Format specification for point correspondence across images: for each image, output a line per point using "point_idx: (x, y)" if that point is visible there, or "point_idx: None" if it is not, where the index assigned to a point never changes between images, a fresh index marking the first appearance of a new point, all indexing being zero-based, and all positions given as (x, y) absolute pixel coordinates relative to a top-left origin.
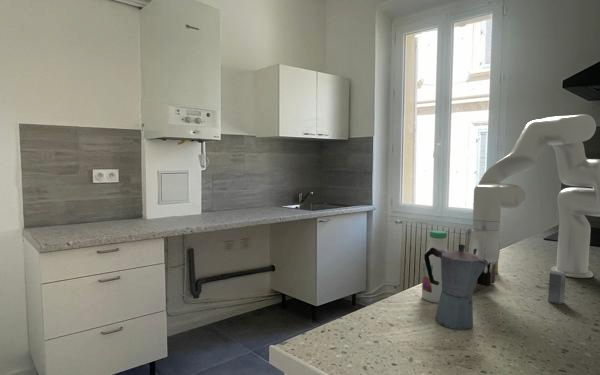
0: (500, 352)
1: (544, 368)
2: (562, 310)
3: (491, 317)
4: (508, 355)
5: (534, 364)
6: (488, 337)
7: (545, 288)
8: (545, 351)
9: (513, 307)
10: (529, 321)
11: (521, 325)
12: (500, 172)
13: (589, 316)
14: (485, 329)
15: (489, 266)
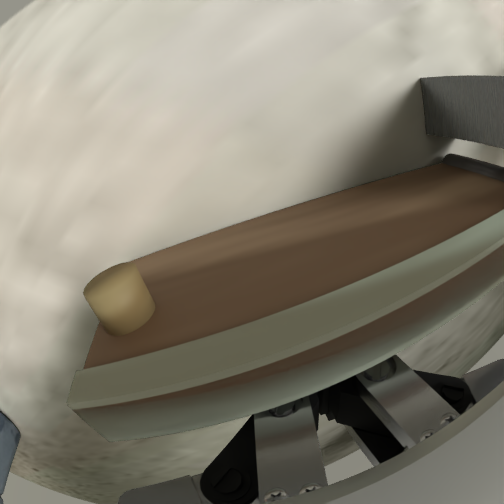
0: (39, 476)
1: (78, 498)
2: (343, 436)
3: (86, 442)
4: (47, 481)
5: (71, 494)
6: (36, 461)
7: (495, 290)
8: (108, 497)
9: (228, 425)
10: (178, 470)
11: (138, 473)
12: None
13: (349, 451)
14: (42, 453)
15: (369, 453)
